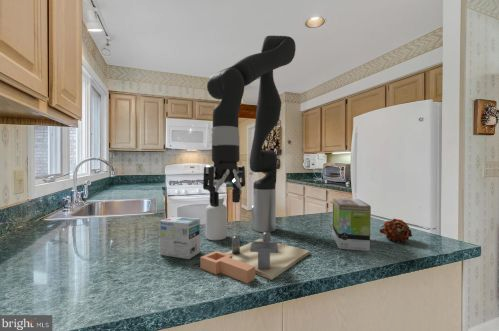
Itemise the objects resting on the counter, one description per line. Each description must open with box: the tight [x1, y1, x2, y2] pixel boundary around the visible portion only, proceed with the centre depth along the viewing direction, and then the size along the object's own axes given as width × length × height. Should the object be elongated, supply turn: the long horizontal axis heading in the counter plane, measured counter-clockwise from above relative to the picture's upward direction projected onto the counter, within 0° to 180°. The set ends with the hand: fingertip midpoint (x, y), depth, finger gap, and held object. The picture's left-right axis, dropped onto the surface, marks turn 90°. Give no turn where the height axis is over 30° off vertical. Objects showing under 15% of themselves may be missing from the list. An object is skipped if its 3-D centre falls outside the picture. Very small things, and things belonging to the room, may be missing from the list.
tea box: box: [332, 198, 372, 252], centre depth 85 cm, size 15×10×15 cm, turn 168°
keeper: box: [250, 240, 279, 270], centre depth 65 cm, size 5×7×5 cm
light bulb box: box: [159, 216, 202, 260], centre depth 76 cm, size 11×7×11 cm, turn 71°
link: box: [199, 250, 256, 284], centre depth 63 cm, size 15×6×3 cm, turn 51°
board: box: [224, 238, 311, 281], centre depth 73 cm, size 19×21×1 cm
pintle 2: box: [262, 232, 272, 242], centre depth 77 cm, size 2×2×5 cm
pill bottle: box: [205, 196, 228, 241], centre depth 91 cm, size 8×8×15 cm
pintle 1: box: [231, 234, 241, 255], centre depth 73 cm, size 2×2×5 cm
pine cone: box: [379, 218, 413, 244], centre depth 88 cm, size 8×8×12 cm
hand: (225, 204), depth 66 cm, fingers open, 8 cm apart
